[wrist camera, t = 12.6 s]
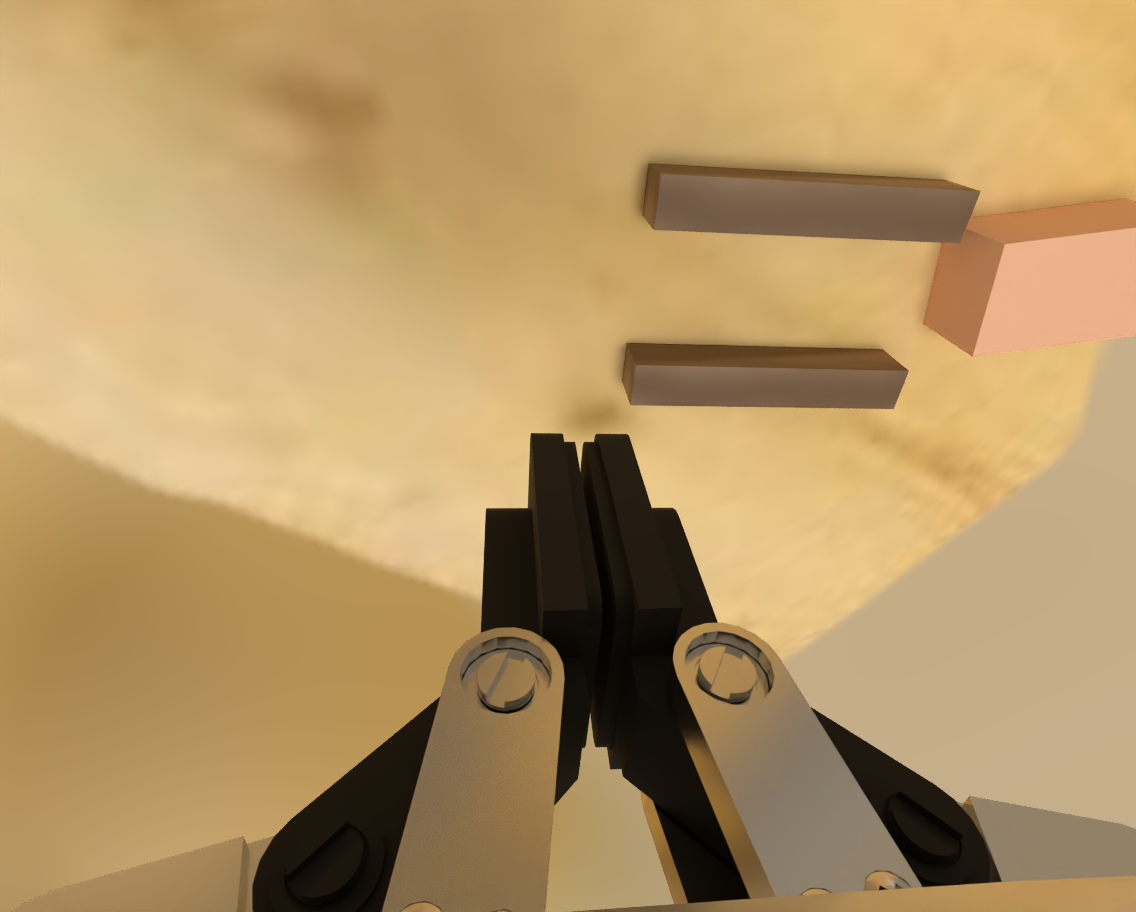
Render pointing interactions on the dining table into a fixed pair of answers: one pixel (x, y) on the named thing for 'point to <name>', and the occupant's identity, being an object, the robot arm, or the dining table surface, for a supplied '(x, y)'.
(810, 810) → the robot arm
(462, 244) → the dining table surface
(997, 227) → the block
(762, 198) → the chute
